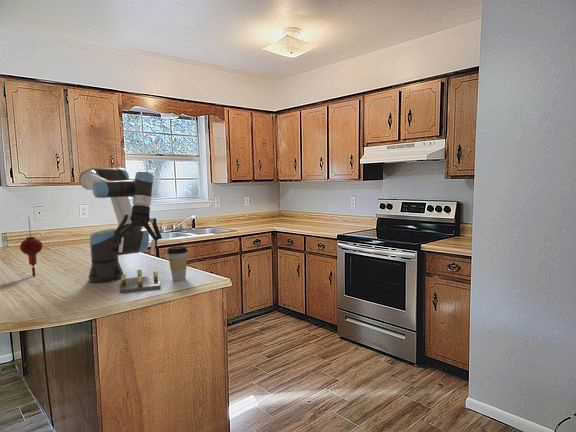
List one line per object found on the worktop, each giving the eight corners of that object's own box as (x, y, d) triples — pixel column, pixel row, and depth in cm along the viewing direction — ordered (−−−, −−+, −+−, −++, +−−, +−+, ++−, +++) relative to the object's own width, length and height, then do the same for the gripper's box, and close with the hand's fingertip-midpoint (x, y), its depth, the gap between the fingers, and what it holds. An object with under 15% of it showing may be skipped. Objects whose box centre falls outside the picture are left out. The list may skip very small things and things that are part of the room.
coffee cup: (189, 280, 175) (188, 248, 174) (168, 282, 172) (166, 250, 171) (188, 275, 184) (187, 245, 183) (168, 277, 181) (166, 246, 180)
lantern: (19, 278, 188) (13, 218, 185) (28, 274, 197) (22, 216, 194) (40, 277, 189) (34, 217, 187) (48, 273, 199) (43, 216, 196)
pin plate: (121, 282, 175) (120, 270, 175) (157, 278, 181) (157, 266, 181) (119, 293, 157) (119, 280, 156) (160, 288, 163) (159, 276, 162)
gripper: (114, 200, 159) (108, 251, 156) (171, 208, 175) (167, 255, 171) (109, 202, 165) (103, 251, 162) (165, 210, 180) (161, 255, 177)
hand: (136, 253), depth 166 cm, fingers open, 13 cm apart
